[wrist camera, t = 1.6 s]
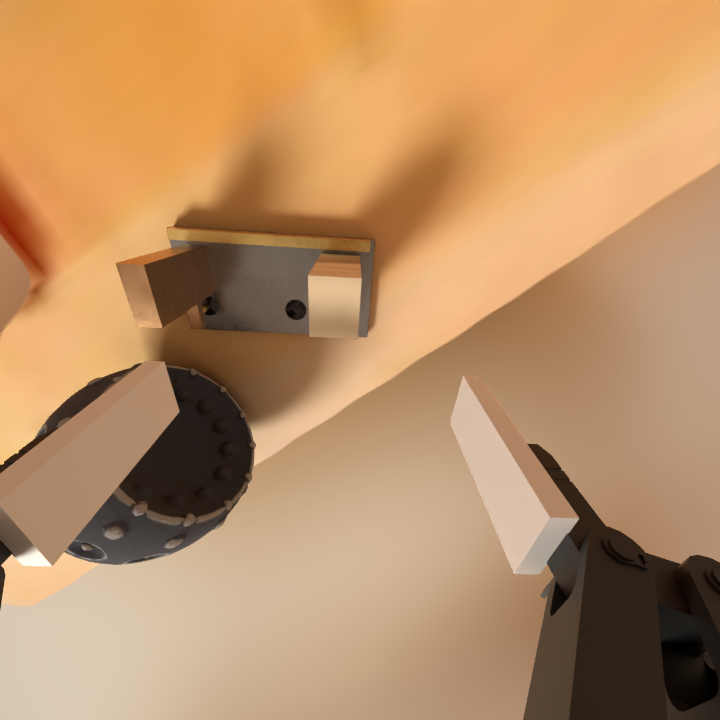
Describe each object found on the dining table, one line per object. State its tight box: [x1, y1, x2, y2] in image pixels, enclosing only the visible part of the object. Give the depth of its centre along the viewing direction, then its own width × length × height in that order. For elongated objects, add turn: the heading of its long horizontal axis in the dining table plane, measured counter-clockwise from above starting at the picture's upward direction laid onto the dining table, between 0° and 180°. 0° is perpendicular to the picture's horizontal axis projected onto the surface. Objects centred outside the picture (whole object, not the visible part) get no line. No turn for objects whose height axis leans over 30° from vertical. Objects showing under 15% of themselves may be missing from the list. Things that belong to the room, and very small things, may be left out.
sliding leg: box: [308, 253, 362, 339], centre depth 28 cm, size 8×4×10 cm, turn 176°
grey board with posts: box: [116, 226, 375, 337], centre depth 28 cm, size 11×21×11 cm, turn 87°
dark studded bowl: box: [35, 363, 256, 565], centre depth 32 cm, size 11×20×20 cm, turn 35°
